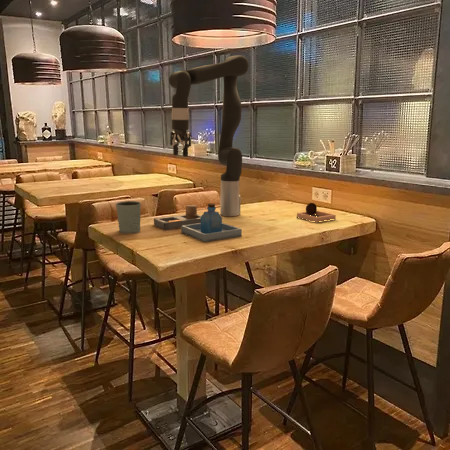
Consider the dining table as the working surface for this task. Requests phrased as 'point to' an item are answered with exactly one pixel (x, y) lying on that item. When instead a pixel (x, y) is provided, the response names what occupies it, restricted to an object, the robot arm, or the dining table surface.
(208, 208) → the perfume bottle
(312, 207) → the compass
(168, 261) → the dining table surface
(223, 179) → the robot arm
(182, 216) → the slot holder
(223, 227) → the tray
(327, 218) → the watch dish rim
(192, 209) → the walnut peg
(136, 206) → the grey cup
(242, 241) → the dining table surface
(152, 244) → the dining table surface
